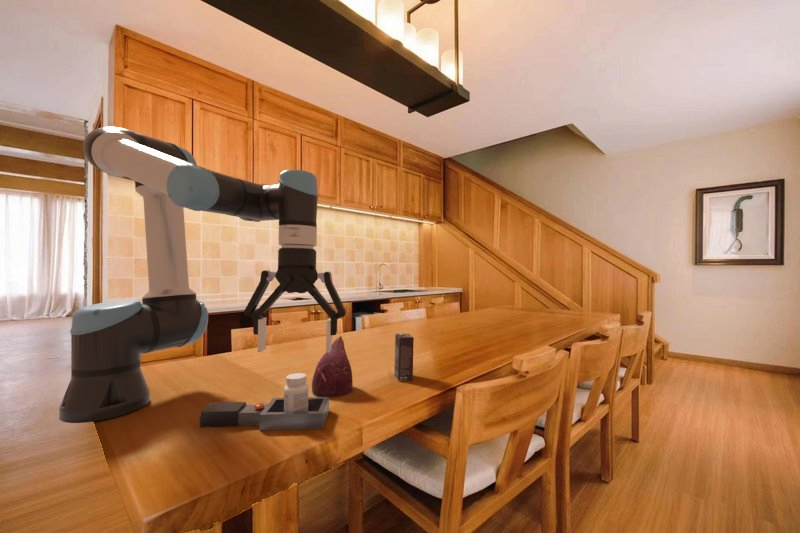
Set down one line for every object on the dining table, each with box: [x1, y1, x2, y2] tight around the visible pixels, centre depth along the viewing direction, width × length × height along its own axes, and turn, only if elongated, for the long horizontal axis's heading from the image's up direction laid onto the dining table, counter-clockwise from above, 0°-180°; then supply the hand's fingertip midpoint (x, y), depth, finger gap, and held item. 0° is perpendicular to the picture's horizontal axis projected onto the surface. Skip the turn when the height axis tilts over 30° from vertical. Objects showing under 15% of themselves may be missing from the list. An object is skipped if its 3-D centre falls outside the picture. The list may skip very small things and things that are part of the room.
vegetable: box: [311, 335, 354, 398], centre depth 89 cm, size 10×10×15 cm
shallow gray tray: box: [199, 396, 330, 431], centre depth 70 cm, size 24×8×3 cm, turn 94°
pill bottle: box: [283, 372, 309, 412], centre depth 70 cm, size 5×5×8 cm
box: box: [393, 333, 414, 382], centre depth 97 cm, size 6×4×12 cm
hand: (295, 350), depth 70 cm, fingers open, 13 cm apart
